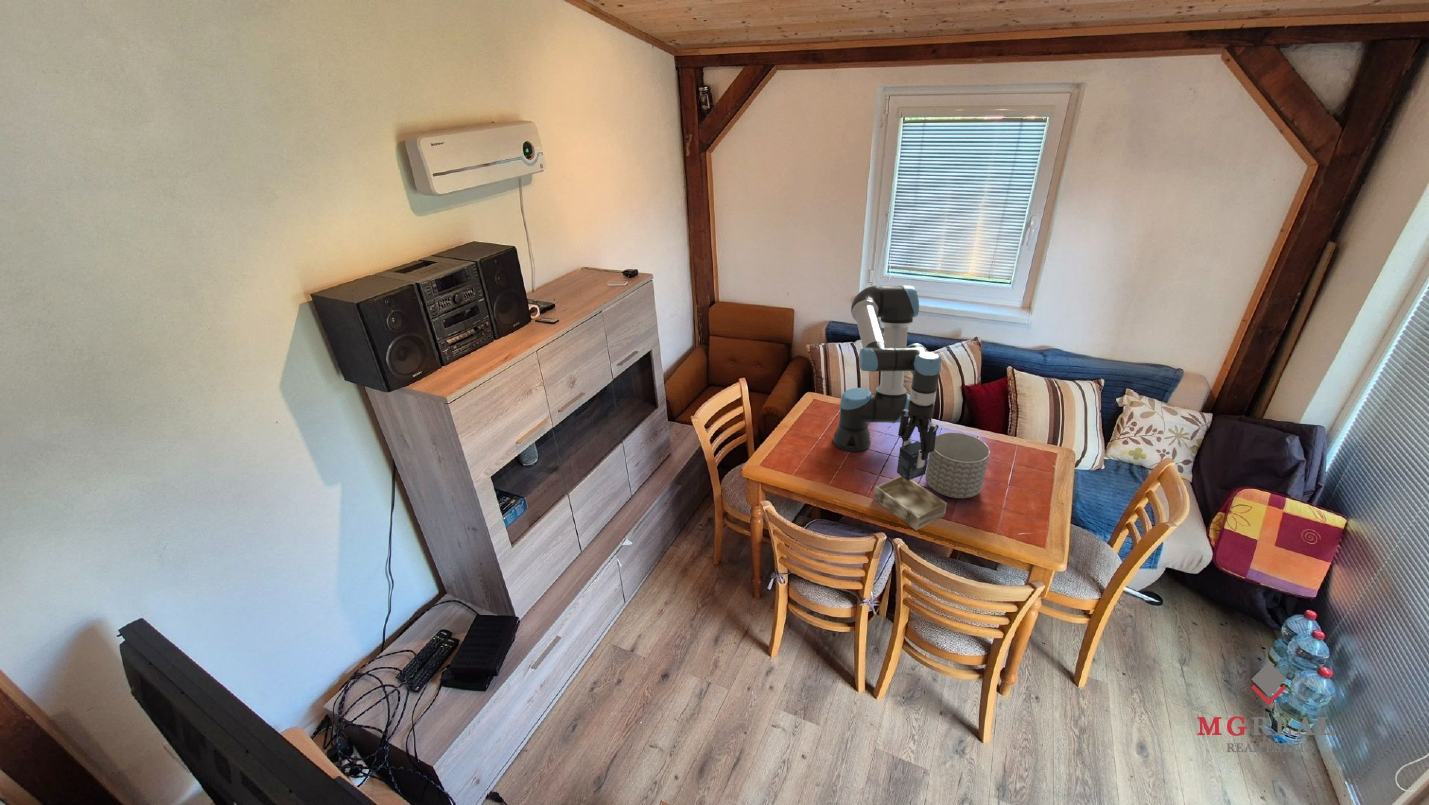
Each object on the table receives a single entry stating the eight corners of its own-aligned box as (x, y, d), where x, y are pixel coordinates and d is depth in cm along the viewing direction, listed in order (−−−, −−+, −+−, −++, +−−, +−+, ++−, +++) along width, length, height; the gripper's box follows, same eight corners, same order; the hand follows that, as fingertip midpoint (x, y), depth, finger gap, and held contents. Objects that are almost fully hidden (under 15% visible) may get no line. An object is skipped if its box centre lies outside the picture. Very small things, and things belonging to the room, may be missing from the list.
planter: (975, 475, 210) (984, 434, 201) (984, 507, 194) (995, 465, 185) (921, 470, 214) (928, 430, 206) (926, 501, 198) (934, 459, 189)
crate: (872, 499, 201) (874, 487, 198) (901, 486, 207) (902, 474, 204) (915, 531, 186) (917, 518, 183) (944, 515, 192) (947, 503, 189)
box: (907, 481, 186) (911, 454, 181) (896, 472, 190) (899, 446, 185) (926, 474, 188) (930, 448, 183) (914, 466, 193) (917, 440, 188)
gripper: (891, 392, 182) (884, 452, 193) (937, 416, 167) (926, 479, 178) (908, 386, 185) (900, 445, 196) (954, 409, 170) (943, 472, 181)
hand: (912, 461), depth 187 cm, fingers closed on box, 6 cm apart
